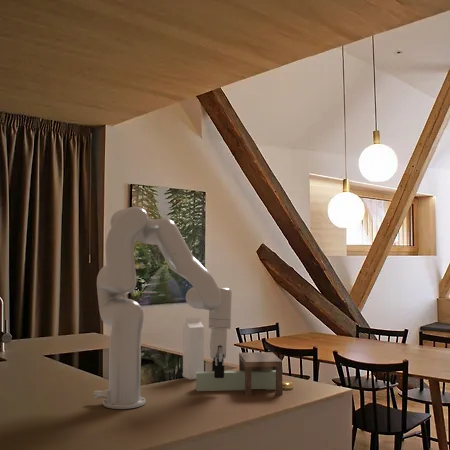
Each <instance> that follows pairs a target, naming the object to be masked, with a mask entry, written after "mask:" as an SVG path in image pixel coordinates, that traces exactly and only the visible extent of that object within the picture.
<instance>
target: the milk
mask: <svg viewBox="0 0 450 450" xmlns="http://www.w3.org/2000/svg"><path fill="white" fill-rule="evenodd" d="M185 321H186V322H185V323H184V325H183V327H182V346H183V347H182V359H183V360H182V377H183V378H185V379H187V380H190V381H191V380H196V372H205V326H204V325H203V323H202V318H201V317H188V318H186V319H185Z"/></svg>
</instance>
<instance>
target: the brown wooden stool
mask: <svg viewBox="0 0 450 450" xmlns="http://www.w3.org/2000/svg"><path fill="white" fill-rule="evenodd" d="M238 358H239V359H238V364H239V365H238V366H239V367H238V371H245V390H244V395H245V396H252V390H251V371H260V370H274V367H275V370H276V389H275V394H276V395H280V396H283V393H284V392H283V389H282V382H283V361H282V359H280V358H279V357H278V356H277V355H276V354H275V353H274V352H273V351H266V352H265V351H264V352H262V351H261V352H257V351H256V352H238Z"/></svg>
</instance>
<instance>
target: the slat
mask: <svg viewBox="0 0 450 450" xmlns="http://www.w3.org/2000/svg"><path fill="white" fill-rule="evenodd" d="M195 381H196V382H195V383H196V386H195V388H196V389H195V390H196V392H209V391H210V392H211V391H214V392H215V391H216V392H217V391H245V371H239V370H224V378H215V377H214V371H212V370H211V371H210V370H209V371H204V372H196V379H195ZM251 389H266V390H276V369H273V370H260V371H251Z"/></svg>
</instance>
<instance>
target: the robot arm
mask: <svg viewBox="0 0 450 450" xmlns="http://www.w3.org/2000/svg"><path fill="white" fill-rule="evenodd" d="M109 224H110V227H111V228H110V229H109V231H108V233H107V237H106V239H105V261H106V262H105V263H106V264H105V265H104V266H103V267H101V269H100V270H99V272H98V273H97V276H96V289H97V290H96V293H97V301H98V311H99V315H100V319H101V321H102V322H103V323H104V324H105V325H106V326H107V327H111V331H110V337H109V345H108V348H109V349H108V353H109V354H108V355H109V357H108V361H109V362H108V366H109V367H108V388H107V389H105V390H94V391H93V398H96V399H103V401H102V402H103V403H102V405H103V407H105V408H108V409H114V410H127V409H134V408H135V409H136V408H140V407H142V406H143V405H145V404H146V398H145V397H143V396H141V389H142V388H141V386H142V385H141V383H142V382H141V375H142V373H141V372H142V371H141V369H142V368H141V367H142V366H141V365H142V364H141V363H142V357H141V356H142V332H143V327H144V320H145V316H144V313H145V312H144V310H143V308H142V306H141V304H140V303H138V301H136V300H134V299H131V298H128V296H127V295H128V294H130V293H133V291H134V290H135V288H136V286H137V274H136V273H137V272H136V264H135V263H136V262H135V250H134V249H135V242H136V241H137V242H140V243H143V244H147V245H153V246H155V245H156V246H157V247H158V249H159V251H160V253H161V254H162V256H163V258H164V261H165V262H166V263H167V265H168V267H169V268H170V269H171V271H173V272H174V273H175V274H177V275H179V276H181V277H182V278H183V279H185V280H186V281H188V283H190V285H191V288H189V289H188V290H187V291H186V293H185V300H186V301H185V302H186V303H187V305H188V306H189V307H191V308H193V309H197V310H205V311H208V329H210V341H209V342H210V345H209V356H210V359H212V362H211V363H212V364H211V365H212V366H211V368H212V369H211V371H214V377H215V378H224V371H225V358H226V356H227V347H228V344H227V342H228V341H227V340H228V330H231V325H232V324H231V323H232V289H231V288H229V287H223V286H222V287H220V286H218V284H217V283H216V280H215V279H214V276H212V274H211V273H210V272H209V270H208V269H207V268H206V267H204V265H203V264H202V263H201V262H200V261H199V260H198V259H197V258H196V257H195V256H194V255H193V254H192V251H191V250H190V248H189V246H188V245H187V242H186V241H185V239H184V237H183V235H182V234H181V231H180V229H179V228H178V226H177V224H176V222H174V221H173V220H172V219H170V218H156V219H153V218H149V215H148V212H147V211H146V210H145V209H144V208H142V207H141V206H140V207H139V206H131V207H127V208H122V209H119V210H117V211H115V212H114V213H113V214H112V215H111V218H110V223H109Z"/></svg>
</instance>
